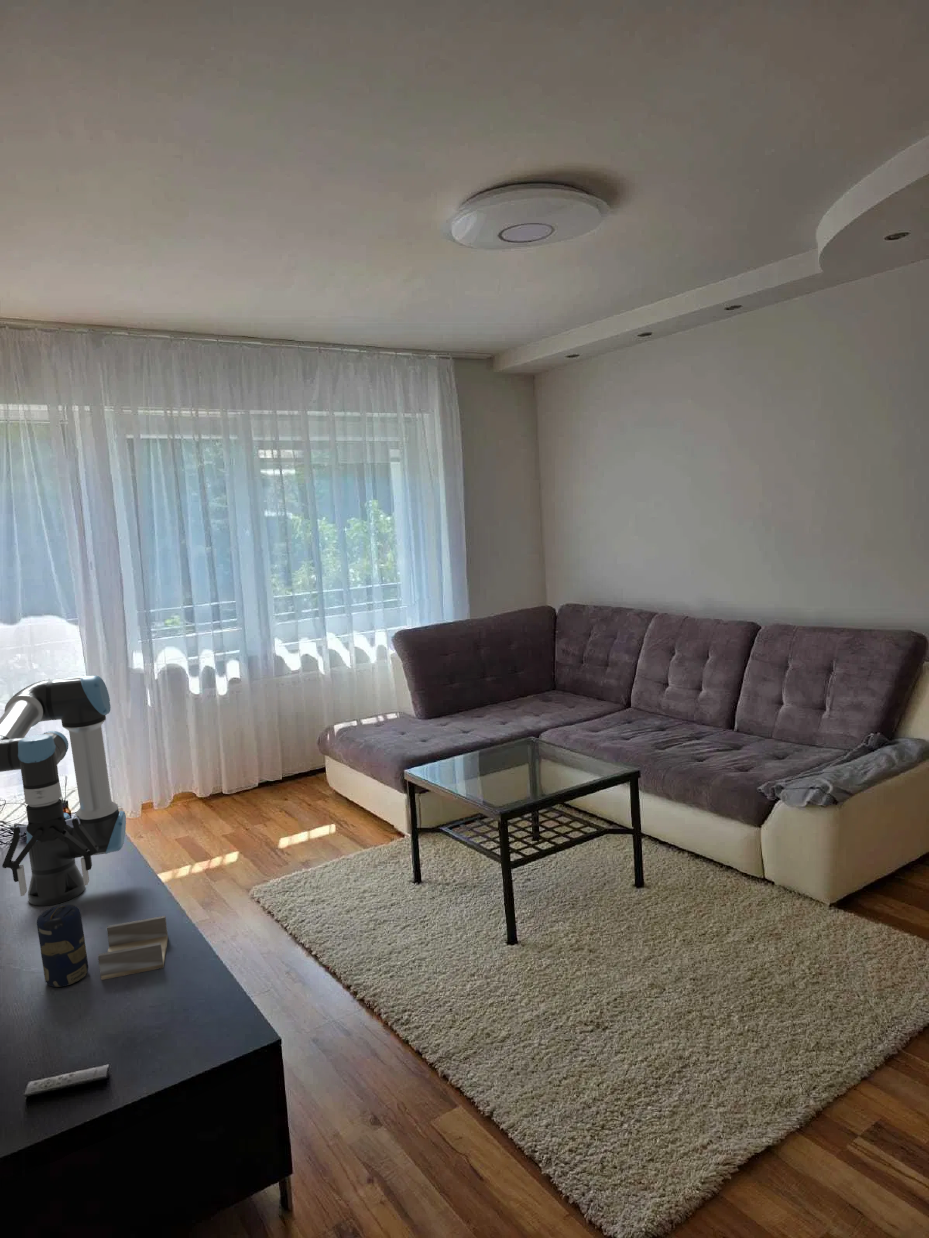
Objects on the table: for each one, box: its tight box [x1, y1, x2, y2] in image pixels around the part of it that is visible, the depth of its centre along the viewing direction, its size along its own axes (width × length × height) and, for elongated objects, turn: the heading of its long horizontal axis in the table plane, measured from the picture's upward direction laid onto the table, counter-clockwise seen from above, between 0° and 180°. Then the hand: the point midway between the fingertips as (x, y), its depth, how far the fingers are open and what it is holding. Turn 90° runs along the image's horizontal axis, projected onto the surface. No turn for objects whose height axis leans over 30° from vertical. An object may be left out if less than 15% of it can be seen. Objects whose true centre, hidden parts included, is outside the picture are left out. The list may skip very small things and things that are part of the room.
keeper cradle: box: [97, 915, 169, 981], centre depth 205 cm, size 15×14×6 cm
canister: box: [36, 904, 89, 988], centre depth 196 cm, size 10×10×18 cm
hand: (55, 888), depth 194 cm, fingers open, 13 cm apart
